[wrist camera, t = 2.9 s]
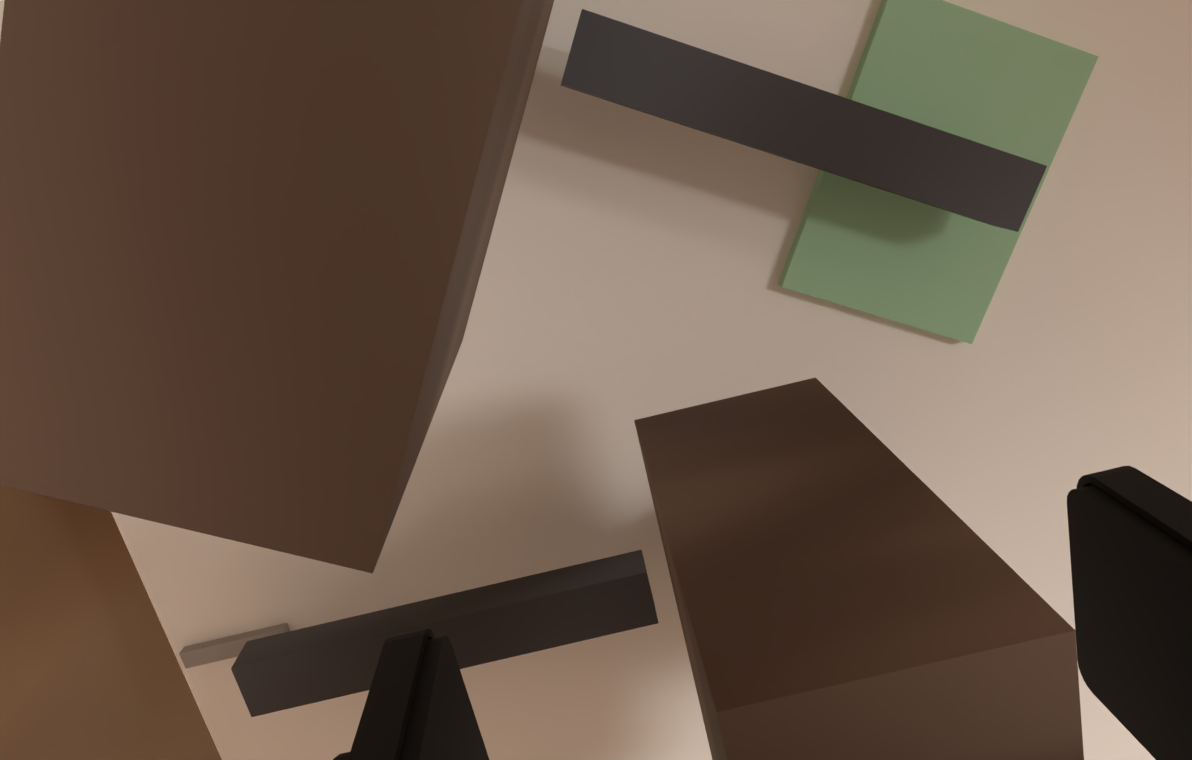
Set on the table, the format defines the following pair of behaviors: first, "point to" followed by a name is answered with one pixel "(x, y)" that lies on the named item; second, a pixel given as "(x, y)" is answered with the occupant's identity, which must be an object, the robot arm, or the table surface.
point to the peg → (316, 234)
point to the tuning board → (762, 346)
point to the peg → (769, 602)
